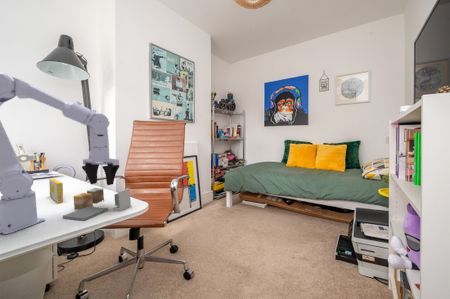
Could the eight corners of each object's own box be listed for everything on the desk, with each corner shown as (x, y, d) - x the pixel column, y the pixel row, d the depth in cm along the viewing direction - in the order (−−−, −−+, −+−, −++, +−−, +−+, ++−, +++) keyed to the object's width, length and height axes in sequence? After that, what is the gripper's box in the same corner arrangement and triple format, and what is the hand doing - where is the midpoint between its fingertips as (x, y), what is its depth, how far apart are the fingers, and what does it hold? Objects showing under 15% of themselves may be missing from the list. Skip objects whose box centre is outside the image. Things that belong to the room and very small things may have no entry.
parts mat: (84, 220, 63) (84, 218, 63) (62, 218, 65) (62, 216, 65) (108, 210, 72) (107, 208, 72) (87, 208, 74) (87, 206, 74)
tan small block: (83, 210, 73) (82, 196, 72) (74, 209, 74) (73, 196, 73) (92, 206, 76) (92, 193, 76) (84, 205, 77) (83, 192, 77)
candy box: (64, 202, 82) (62, 182, 81) (57, 204, 80) (55, 183, 80) (55, 195, 92) (54, 177, 92) (49, 196, 91) (48, 178, 90)
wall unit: (120, 211, 71) (119, 191, 70) (113, 210, 72) (112, 191, 71) (130, 206, 76) (129, 188, 75) (124, 205, 76) (123, 187, 76)
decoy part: (95, 203, 80) (94, 191, 79) (87, 202, 81) (86, 190, 80) (104, 200, 84) (103, 188, 83) (96, 199, 85) (95, 188, 84)
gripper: (124, 146, 75) (126, 182, 76) (93, 146, 79) (95, 180, 80) (109, 147, 68) (111, 187, 69) (76, 147, 72) (78, 185, 73)
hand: (101, 184), depth 74 cm, fingers open, 7 cm apart
